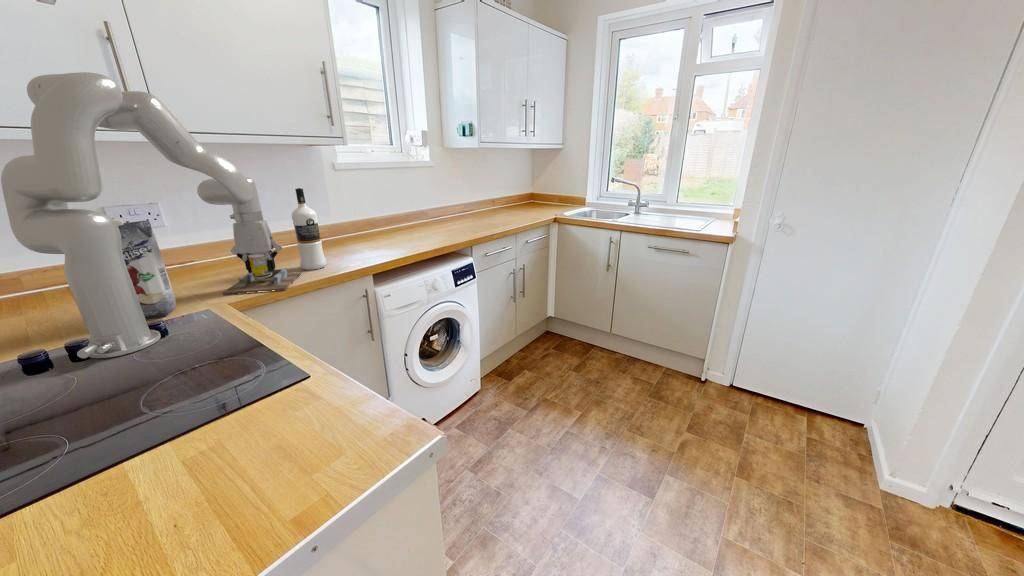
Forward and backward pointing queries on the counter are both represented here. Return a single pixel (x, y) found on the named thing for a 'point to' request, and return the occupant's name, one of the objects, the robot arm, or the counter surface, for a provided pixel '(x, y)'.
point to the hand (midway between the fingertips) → (261, 270)
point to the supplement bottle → (259, 265)
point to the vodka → (307, 235)
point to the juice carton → (146, 268)
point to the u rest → (264, 282)
